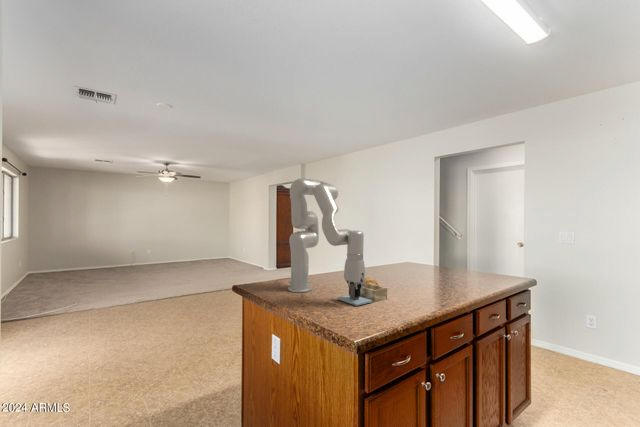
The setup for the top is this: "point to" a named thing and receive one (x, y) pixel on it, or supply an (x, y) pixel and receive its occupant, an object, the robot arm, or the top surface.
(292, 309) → the top surface
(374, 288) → the box
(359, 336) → the top surface
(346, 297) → the lid
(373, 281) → the croissant
